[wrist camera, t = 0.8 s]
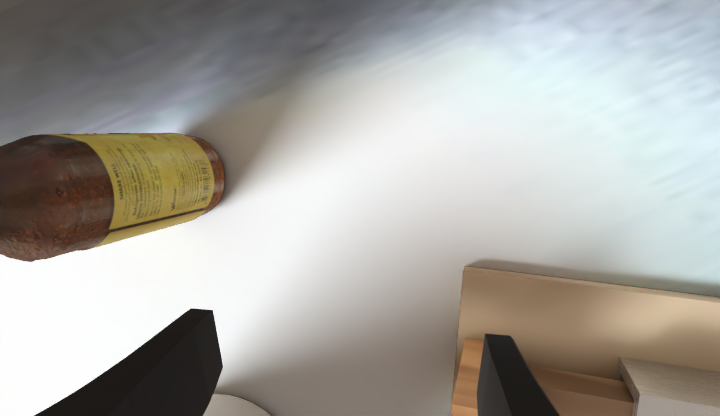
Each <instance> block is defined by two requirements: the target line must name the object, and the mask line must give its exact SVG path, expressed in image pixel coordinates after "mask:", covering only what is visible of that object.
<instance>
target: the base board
mask: <svg viewBox="0 0 720 416" xmlns="http://www.w3.org/2000/svg"><path fill="white" fill-rule="evenodd" d="M485 333H486V334H497V335H509V336H511V337H512V338H513V339H514V341H515V343H516V345H517V347H518V349H519V351H520V352H521V354H522V356H523V358H524V360H525V361H526V363H527V365H531V366H537V367H543V368H549V369H555V370H561V371H566V372H572V373H578V374H584V375H590V376H596V377H601V378H607V379H613V380H616V377H617V369H618V362H619V356H621V357H628V358H634V359H640V360H647V361H653V362H659V363H666V364H672V365H678V366H684V367H691V368H697V369H703V370H710V371H716V372H720V297H714V296H705V295H697V294H689V293H681V292H673V291H664V290H656V289H648V288H640V287H632V286H624V285H615V284H607V283H599V282H591V281H583V280H574V279H566V278H558V277H550V276H542V275H534V274H525V273H517V272H509V271H501V270H493V269H485V268H476V267H468V266H465V267H464V270H463V280H462V291H461V303H460V314H459V326H458V337H457V349H456V360H455V372H454V384H453V395H452V401H453V396H454V391H455V386H456V381H457V376H458V372H459V367H460V362H461V357H462V352H463V347H464V343H465V338H472V339H479V340H484V337H485ZM451 408H452V407H451Z"/></svg>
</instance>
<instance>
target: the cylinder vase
mask: <svg viewBox="0 0 720 416" xmlns="http://www.w3.org/2000/svg"><path fill="white" fill-rule="evenodd" d="M203 416H271V415H270V414H268V413H267V412H266V411H264V410H263V409H262V408H260V407H258V406H257V405H255V404H253V403H251V402H249V401H247V400H244V399H242V398H239V397H235V396H231V395H224V394H213V395H212V398H211V401H210V403H209V405H208V407H207V409H206V411H205V413H204V415H203Z"/></svg>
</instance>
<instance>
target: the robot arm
mask: <svg viewBox="0 0 720 416" xmlns="http://www.w3.org/2000/svg"><path fill="white" fill-rule="evenodd" d="M222 368H223V365H222V359H221V354H220V348H219V343H218V337H217V332H216V326H215V321H214V315H213V310H202V309H190V310H189V311H187V312H186V313H184V314H183V315H182V316H180V317H179V318H178V319H176V320H175V321H174V322H172V323H171V324H170V325H168V326H167V327H166V328H165V329H163V330H162V331H161V332H159V333H158V334H157V335H155V336H154V337H153V338H151V339H150V340H149V341H147V342H146V343H145V344H143V345H142V346H141V347H139V348H138V349H137V350H135V351H134V352H133V353H131V354H130V355H129V356H127V357H126V358H125V359H123V360H122V361H120V362H119V363H117V364H116V365H114V366H113V367H112V368H110V369H109V370H107V371H106V372H104V373H103V374H101V375H100V376H98V377H97V378H96V379H94V380H93V381H91V382H90V383H88V384H87V385H85V386H84V387H82V388H80V389H79V390H77V391H76V392H74V393H72V394H71V395H69V396H68V397H66V398H64V399H63V400H61V401H59V402H57V403H56V404H54V405H52V406H51V407H49V408H47V409H45V410H44V411H42V412H40V413H38V414H36V415H35V416H203V415H204V413H205V411H206V409H207V407H208V405H209V403H210V401H211V398H212V395H213V393H214V390H215V388H216V385H217V382H218V379H219V376H220V374H221V371H222ZM477 409H478V416H560V415H559V413H558V412H557V410H556V409H555V407H554V406H553V404H552V403H551V401H550V400H549V398H548V397H547V395H546V394H545V392H544V391H543V389H542V388H541V386H540V385H539V383H538V381H537V380H536V378H535V377H534V375H533V373H532V372H531V370H530V368H529V367H528V365H527V363H526V361H525V360H524V358H523V356H522V354H521V352H520V351H519V349H518V347H517V345H516V343H515V341H514V339H513V338H512V337H511V336H509V335H497V334H486V333H485V337H484V344H483V351H482V358H481V365H480V372H479V379H478V386H477Z"/></svg>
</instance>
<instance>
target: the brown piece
mask: <svg viewBox="0 0 720 416" xmlns="http://www.w3.org/2000/svg"><path fill="white" fill-rule="evenodd" d="M483 344H484V340H479V339H472V338H465V343H464V347H463V352H462V357H461V362H460V367H459V372H458V376H457V381H456V386H455V391H454V396H453V401H452V408H451V416H478V409H477V386H478V379H479V372H480V365H481V358H482V351H483ZM528 367H529V368H530V370H531V372H532V373H533V375H534V377H535V378H536V380H537V381H538V383H539V385H540V386H541V388H542V389H543V391H544V392H545V394H546V395H547V397H548V398H549V400H550V401H551V403H552V404H553V406H554V407H555V409H556V410H557V412H558V413H559V415H560V416H632V413H633V406H634V399H633V397H632V395H631V393H630V391H629V389H628V387H627V385H626V383H625V381H619V380H613V379H607V378H601V377H596V376H590V375H584V374H578V373H572V372H566V371H561V370H555V369H549V368H543V367H537V366H531V365H528Z"/></svg>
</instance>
